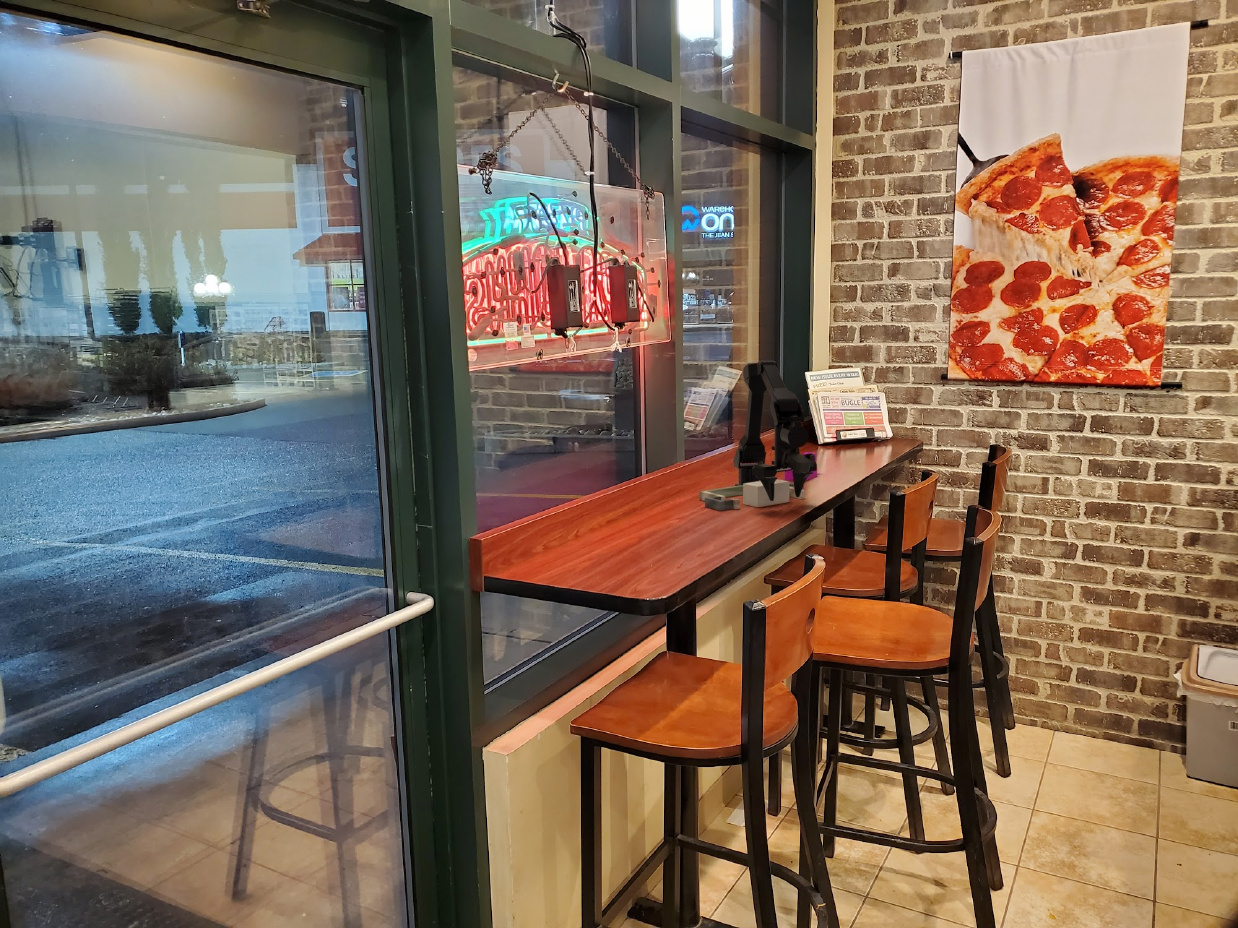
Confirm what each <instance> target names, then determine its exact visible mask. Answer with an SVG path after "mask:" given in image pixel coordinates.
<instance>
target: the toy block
mask: <svg viewBox="0 0 1238 928" xmlns="http://www.w3.org/2000/svg"><path fill="white" fill-rule="evenodd" d="M807 453H810V452H807V451H806V452H803V454H805V455H806V454H807ZM812 453H813V454H814V455H815V462H816V464H817V465H818V463H817V460H818V459H817V456H818V455H817V452H812ZM803 454H802V455H803ZM788 468H789V467H788ZM792 471H793V470H792ZM792 471H784V481H789V482H794V481H793V474H792ZM812 472H814V473H813V474H811V475H810V476H809V477H808V478H807V479H806V481H808V480H812V479H815V478H817V477H818V470H817V471H812Z"/></svg>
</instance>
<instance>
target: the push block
mask: <svg viewBox="0 0 1238 928" xmlns="http://www.w3.org/2000/svg"><path fill="white" fill-rule="evenodd" d="M789 483H790V481H788V480H785V479H784V480H783V479H778V478H777V480H776V481H775V483H774V501H770V499H769V497H768V495H767V493H766V490H765V488H764V486H763V485H762V483H761V481H757V482H751V483H745V484H743V495H742V504H743V505H746V506H751V507H756V508H761V507H768V506H772V505H778V504H784V503H789V502H790V497H789Z"/></svg>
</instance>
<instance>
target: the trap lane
mask: <svg viewBox="0 0 1238 928" xmlns="http://www.w3.org/2000/svg"><path fill="white" fill-rule="evenodd" d="M804 487H805V485H803V488H802V491H801V494H800V497H796V495H795V489H794V482H789V498H794V499H799V500H802V499H803V500H804V499H805V498H806V496H805V495H806V493H805V492H806V491H805V488H804ZM698 494H699V496H698V497H699V499H698V500H700V501H703V502H704V507H705V508H709V509H713V510H715V511H726V510H727V511H728V510H732V509H733V510H738V509H739V510H740V509H741V508H740V505H741V504H740V503H741V502H740V499H737V498H734V496H743V485H740V486H735V485H733V486H728V487H727V486H726V487H720V488H713V489H712V488H711V489H706V490H705V489H704V490H700V491H699V493H698ZM728 497H733V498H728ZM726 498H727V499H726Z"/></svg>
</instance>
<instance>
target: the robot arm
mask: <svg viewBox="0 0 1238 928" xmlns="http://www.w3.org/2000/svg"><path fill="white" fill-rule="evenodd" d="M742 376H743V382H744V384H745V385H746V388H747V390H748V394H747V404H746V405H747V406H746V417H745V428H744V435H743V436H742V438H741V439H739V441H738V444H737V445H738V446H737V449H736V451H735V454H734V457H733V467H735V468H736V469H738V483H735V484H734V486H740V485H743V484H745V483H751V482H757V481H761V483H762V485H763V486H764V488H765V490H766V493H767V495H768V497H769V499H770V501H774V483H775V481H776V480H777V479H778V477H776V475H777V473H785V471H792V470H793V471H792V474H793V481H792V482H793V483H794V489H795V495H796V497H800V494H801V491H802V488H803V486H805V483H806V481H807V480H806V479H807V478H808V477H809V476H810V475H811V474H813V473H814V472H812V471H817V472H818V463H817V464H816V462H815V455H814V454H813V453H814V452H809V453H807V454H806V455H805V454H801V452H800V448H803V447H804V446H805V445H806V444H807V443H808V442H809V438H810V437H809V433H808V430H807V429H806V428H805V427H803V426H802V423H805V417H806V415H805V413H804V412H805V411H804V409H803V407H802V404H801V401H800V400H799V399H798V397H797V396H796V395H795V393H794V392H792V391H790V390H788V388H787V386H786V385H785V384H786V383H784V380H783V378H782V376H781V373H780V372H779V369H778V363H777V361H774V360H761V361H757V362H748V363H747V364H746V365H745V366H744V367H743V369H742ZM766 392H768V395H769V397H770V399H771V401H770V404H769V411H770V415H771V417H772V419H773V425H774V445H771V451H774V460H771V464H769V463H766V457H767V452H766V447H765V444H764V442H763V441H762V439H761V433H762V421H763V413H764V412H763V411H764V410H763V409H764V400H765V393H766ZM788 467H789V468H788Z"/></svg>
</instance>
